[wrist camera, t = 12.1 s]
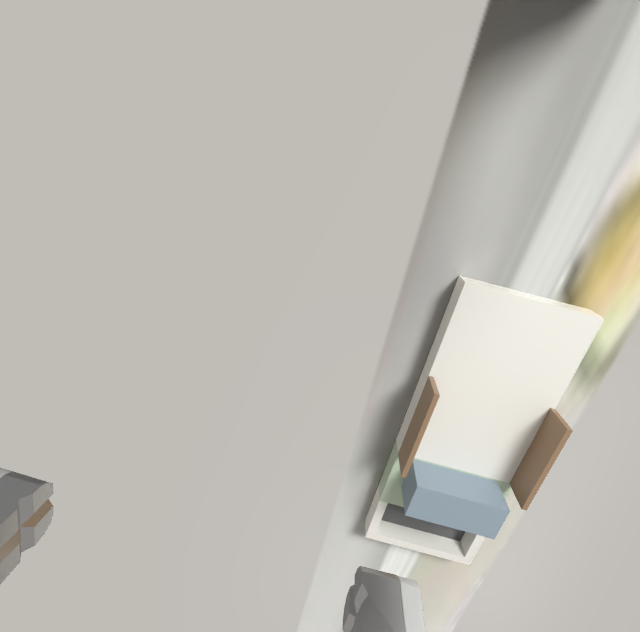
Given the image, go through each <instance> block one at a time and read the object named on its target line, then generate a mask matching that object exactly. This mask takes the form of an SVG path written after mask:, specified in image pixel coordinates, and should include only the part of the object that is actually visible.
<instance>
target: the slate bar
mask: <svg viewBox="0 0 640 632" xmlns="http://www.w3.org/2000/svg"><path fill="white" fill-rule="evenodd" d="M401 488H402V496H403V504H404V512H405V516H409V517H413V518H417V519H420V520H424V521H428V522H431V523H435V524H439V525H443V526H446V527H450V528H454V529H458V530H461V531H465V532H469V533H473V534H476V535H480V536H484V537H487V538H491V539H495V537H496V535H497V533H498V532H499V530H500V528H501V526H502V524H503V523H504V521H505V519H506V517H507V516H508V514H509V512H510V510H509V508H508V505H507V503H506V501H505V499H504V496H503V494H502V492H501V489H500V487H499V485H498V482H497V481H493V480H489V479H486V478H482V477H478V476H474V475H471V474H467V473H463V472H459V471H456V470H452V469H448V468H444V467H441V466H437V465H433V464H429V463H426V462H422V461H418V460H413V462H412V464H411V467H410V469H409V472H408V474H407V477H406V478H405V479H404V481H403V484H402V486H401Z"/></svg>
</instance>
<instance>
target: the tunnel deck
mask: <svg viewBox="0 0 640 632" xmlns="http://www.w3.org/2000/svg"><path fill="white" fill-rule="evenodd" d="M603 321H604V318H603V317H601V316H599V315H598V314H596V313H594V312H593V311H591V310H589V309H585V308H582V307H578V306H574V305H570V304H566V303H563V302H559V301H555V300H551V299H547V298H543V297H540V296H536V295H532V294H528V293H524V292H521V291H517V290H513V289H509V288H505V287H501V286H498V285H494V284H490V283H486V282H482V281H479V280H475V279H471V278H467V277H463V276H459V277H458V279H457V282H456V285H455V287H454V290H453V292H452V295H451V298H450V300H449V303H448V305H447V308H446V311H445V313H444V316H443V318H442V321H441V324H440V326H439V329H438V331H437V334H436V337H435V339H434V342H433V345H432V347H431V350H430V352H429V355H428V358H427V360H426V363H425V365H424V368H423V371H422V373H421V376H420V378H419V381H418V384H417V386H416V389H415V391H414V394H413V397H412V399H411V402H410V404H409V407H408V410H407V412H406V415H405V417H404V420H403V423H402V425H401V428H400V430H399V433H398V436H397V438H396V441H395V444H394V446H393V449H392V451H391V454H390V457H389V459H388V462H387V464H386V467H385V470H384V472H383V475H382V477H381V480H380V483H379V485H378V488H377V490H376V493H375V496H374V498H373V501H372V503H371V506H370V509H369V511H368V514H367V516H366V519H365V537H366V538H370V539H374V540H377V541H381V542H385V543H388V544H392V545H396V546H400V547H403V548H407V549H411V550H414V551H418V552H422V553H426V554H429V555H433V556H437V557H440V558H444V559H448V560H452V561H455V562H459V563H463V564H466V565H470V564H471V562H472V560H473V558H474V556H475V555H476V553H477V551H478V549H479V547H480V545H481V544H482V542H483V540H484V538H485V537H484V536H480V535H476V534H473V533H469V532H465V531H461V530H458V529H454V528H450V527H446V526H443V525H439V524H435V523H431V522H428V521H424V520H420V519H417V518H413V517H409V516H405V512H404V504H403V496H402V488H401V486H402V484H403V481H404V479H405V478H406V477H407V474H408V472H409V469H410V467H411V464H412V462H413V460H418V461H422V462H426V463H429V464H433V465H437V466H441V467H444V468H448V469H452V470H456V471H459V472H463V473H467V474H471V475H474V476H478V477H482V478H486V479H489V480H493V481H497V482H498V485H499V487H500V489H501V492H502V494H503V496H504V499H505V500H506V498H507V496H508V494H509V492H510V491H511V489H512V490H513V492H514V494H515V496H516V498H517V500H518V502H519V505H520V507H521V509H523V510H527V508H528V507H529V505H530V503H531V502H532V500H533V498H534V496H535V495H536V493H537V491H538V489H539V488H540V486H541V484H542V483H543V481H544V479H545V477H546V476H547V474H548V472H549V471H550V469H551V467H552V465H553V464H554V462H555V460H556V458H557V457H558V455H559V453H560V452H561V450H562V448H563V446H564V445H565V443H566V441H567V440H568V438H569V436H570V434H571V433H572V429H571V428H570V427H569V426H568V424H567V423H566V422H565V421H564V419H563V418H562V417H561V416H560V415H559V413H558V412H557V411H556V410H555V408H556V407H557V405H558V403H559V401H560V399H561V397H562V396H563V394H564V392H565V390H566V388H567V386H568V385H569V383H570V381H571V379H572V377H573V375H574V374H575V372H576V370H577V368H578V366H579V365H580V363H581V361H582V359H583V357H584V355H585V354H586V352H587V350H588V348H589V346H590V344H591V343H592V341H593V339H594V337H595V335H596V333H597V332H598V330H599V328H600V326H601V324H602V322H603Z"/></svg>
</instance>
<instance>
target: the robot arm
mask: <svg viewBox="0 0 640 632" xmlns="http://www.w3.org/2000/svg"><path fill="white" fill-rule="evenodd" d="M52 494H53V484H52V483H49V482H46V481H42V480H39V479H36V478H32V477H29V476H26V475H23V474H19V473H16V472H13V471H9V470H6V469H2V468H0V584H1V583H2V582H3V581H4V580H5V579H6V577H7V576H8V575H9V574H10V573H11V572H12V571H13V570H14V568H15V567H16V566H17V565H18V564H19V563H20V557H21V552H23V551H25V550H27V549H29V548H31V547H33V546H35V545H36V543H37V542H38V541H39V540H40V538H41V537H42V536H43V535H44V533H45V532H46V530H47V528H48V526H49V525H50V523H51V520H52V516H53V505H52V504H51V502H50V501H49V499H48V498H49V497H50V496H51V495H52ZM343 632H426V627H425V620H424V613H423V606H422V599H421V592H420V586H419V584H418V582H417V581H414V580H410V579H407V578H403V577H399V576H397V575H394V574H390V573H386V572H382V571H378V570H374V569H370V568H366V567H362V566H360V567H359V568H358V569H357V571H356V574H355V585H353V586H351V587H350V589H349V592H348V594H347V598H346V603H345V607H344V616H343Z"/></svg>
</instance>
